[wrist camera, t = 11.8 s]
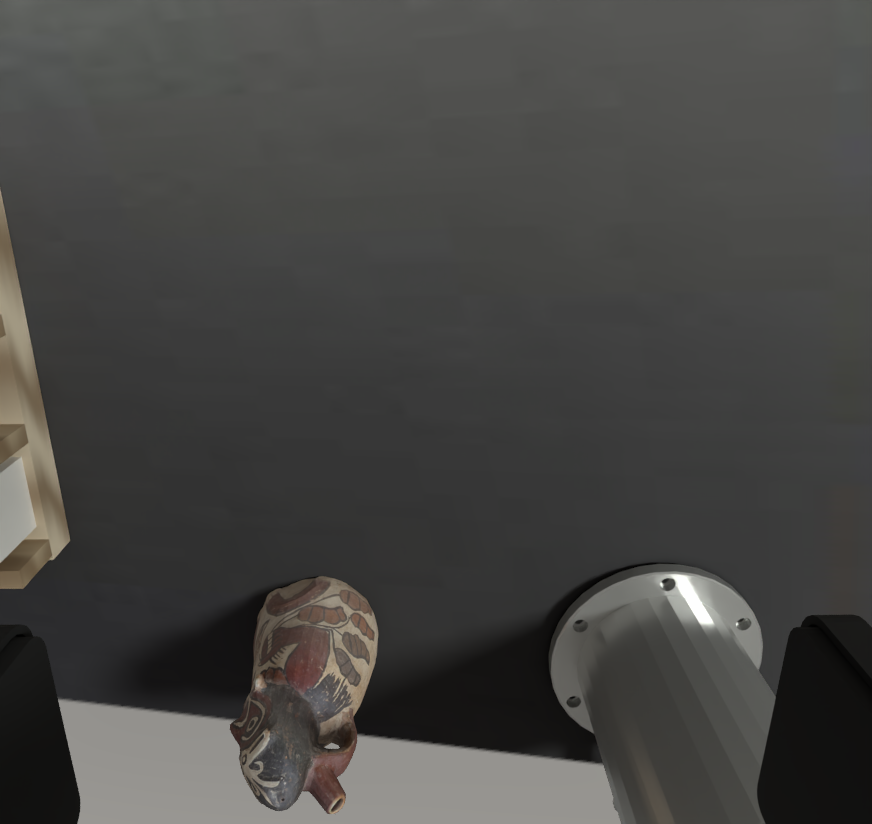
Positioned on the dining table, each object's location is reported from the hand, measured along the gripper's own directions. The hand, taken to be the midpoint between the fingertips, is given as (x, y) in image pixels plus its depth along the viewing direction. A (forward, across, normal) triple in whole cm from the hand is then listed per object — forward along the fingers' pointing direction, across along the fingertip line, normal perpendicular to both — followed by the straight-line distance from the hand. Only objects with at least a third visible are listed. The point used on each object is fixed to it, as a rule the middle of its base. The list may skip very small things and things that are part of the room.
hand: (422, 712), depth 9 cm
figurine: (+28, +6, +20) cm, 35 cm away
